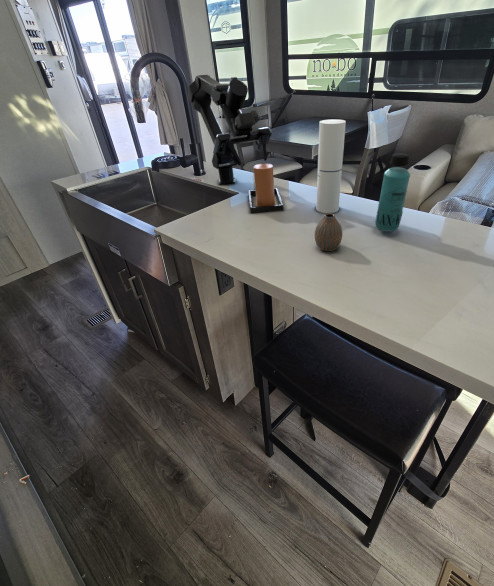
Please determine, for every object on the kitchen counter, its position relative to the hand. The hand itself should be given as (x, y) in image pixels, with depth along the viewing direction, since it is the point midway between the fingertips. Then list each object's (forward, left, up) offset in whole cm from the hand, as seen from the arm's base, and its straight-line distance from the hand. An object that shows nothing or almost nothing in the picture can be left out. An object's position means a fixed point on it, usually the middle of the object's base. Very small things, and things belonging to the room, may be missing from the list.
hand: (253, 162), depth 101 cm
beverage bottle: (+31, +34, -13) cm, 48 cm away
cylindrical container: (+12, +22, -13) cm, 28 cm away
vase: (+37, +16, -13) cm, 43 cm away
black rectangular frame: (+2, +3, -13) cm, 13 cm away
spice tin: (+6, +3, -13) cm, 14 cm away
